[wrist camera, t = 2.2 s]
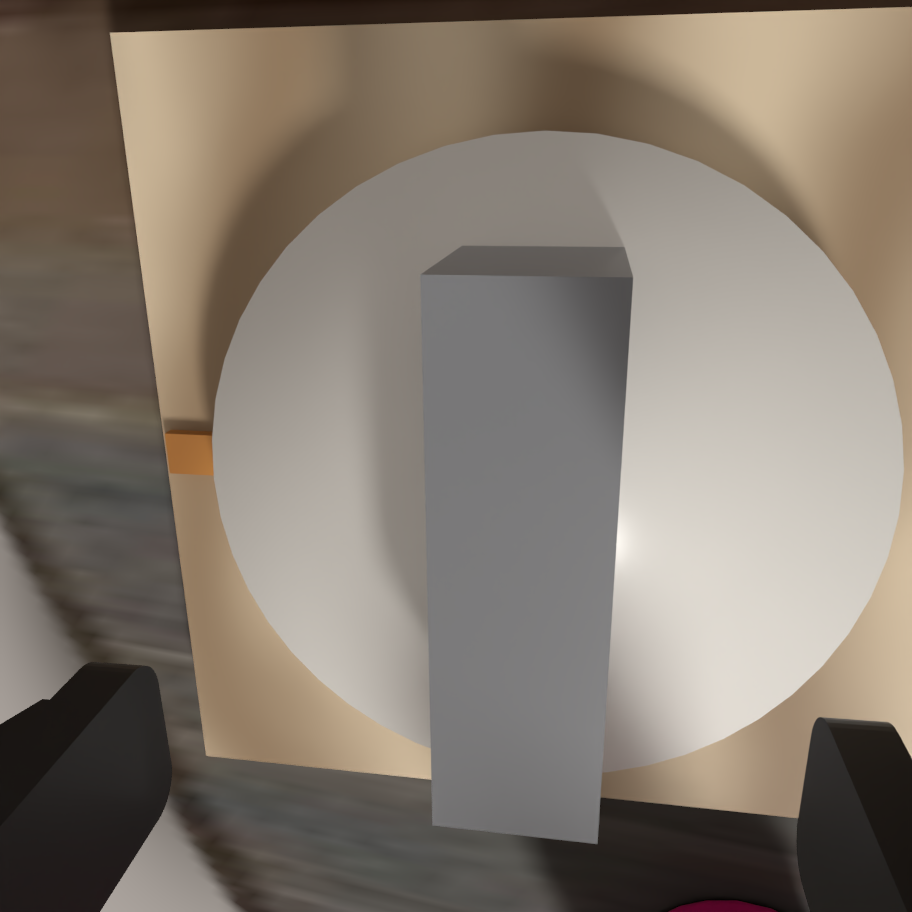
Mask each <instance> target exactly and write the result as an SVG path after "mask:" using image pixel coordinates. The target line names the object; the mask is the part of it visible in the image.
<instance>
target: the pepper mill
mask: <svg viewBox="0 0 912 912" xmlns="http://www.w3.org/2000/svg"><path fill="white" fill-rule="evenodd" d="M668 912H777V911H775V910H773V909H771V908H767V907H763V906H759V905H755V904H750V903H746V902H742V901H738V900H706V901H701V902H696V903H691V904H687V905H682V906H679V907H677V908H675V909H673V910H670V911H668Z"/></svg>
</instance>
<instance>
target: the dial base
mask: <svg viewBox="0 0 912 912" xmlns="http://www.w3.org/2000/svg"><path fill="white" fill-rule="evenodd" d="M110 37H111V45H112V52H113V60H114V67H115V75H116V82H117V90H118V97H119V105H120V112H121V120H122V127H123V135H124V142H125V150H126V157H127V165H128V172H129V180H130V188H131V195H132V203H133V210H134V218H135V225H136V233H137V240H138V248H139V255H140V263H141V270H142V278H143V285H144V293H145V300H146V308H147V315H148V323H149V330H150V338H151V345H152V353H153V360H154V368H155V375H156V383H157V390H158V398H159V405H160V413H161V420H162V428H163V435H164V443H165V450H166V458H167V465H168V473H169V480H170V488H171V495H172V503H173V510H174V518H175V525H176V533H177V540H178V548H179V555H180V563H181V570H182V578H183V585H184V593H185V600H186V608H187V615H188V623H189V630H190V638H191V645H192V653H193V660H194V668H195V675H196V683H197V690H198V698H199V705H200V713H201V720H202V728H203V735H204V743H205V750H206V756H213V757H223V758H232V759H242V760H251V761H261V762H270V763H280V764H289V765H299V766H308V767H318V768H327V769H337V770H346V771H355V772H365V773H374V774H384V775H393V776H403V777H412V778H422V779H431V748H428V747H425V746H423V745H420V744H418V743H415V742H413V741H411V740H409V739H407V738H405V737H403V736H401V735H399V734H397V733H395V732H393V731H391V730H389V729H388V728H386V727H384V726H382V725H380V724H378V723H377V722H375V721H374V720H372V719H371V718H369V717H368V716H366V715H365V714H363V713H361V712H360V711H358V710H357V709H355V708H354V707H352V706H351V705H349V704H348V703H347V702H345V701H344V700H343V699H342V698H340V697H339V696H338V695H337V694H336V693H334V692H333V691H332V690H331V689H329V688H328V687H327V686H326V685H325V684H323V683H322V682H321V681H320V680H318V678H317V677H316V676H315V675H314V674H313V673H312V672H311V671H310V670H309V669H308V668H307V667H306V666H305V665H304V664H303V663H302V662H301V661H300V660H299V659H298V658H297V657H296V656H295V655H294V654H293V653H292V652H291V651H290V649H289V648H288V647H287V645H286V644H285V643H284V642H283V640H282V639H281V638H280V637H279V635H278V634H277V633H276V631H275V630H274V629H273V628H272V626H271V625H270V624H269V622H268V621H267V619H266V618H265V616H264V614H263V613H262V611H261V609H260V608H259V606H258V604H257V603H256V601H255V599H254V598H253V596H252V595H251V593H250V591H249V590H248V587H247V585H246V583H245V581H244V579H243V576H242V574H241V572H240V570H239V568H238V566H237V563H236V561H235V559H234V557H233V555H232V551H231V548H230V545H229V542H228V539H227V536H226V532H225V529H224V526H223V523H222V520H221V516H220V510H219V505H218V499H217V493H216V488H215V482H214V471H213V450H212V433H213V422H214V410H215V399H216V395H217V390H218V386H219V381H220V377H221V372H222V368H223V364H224V359H225V357H226V354H227V351H228V349H229V346H230V343H231V341H232V338H233V335H234V333H235V330H236V327H237V325H238V322H239V320H240V318H241V316H242V314H243V312H244V311H245V309H246V307H247V305H248V303H249V301H250V300H251V298H252V296H253V294H254V292H255V290H256V289H257V287H258V285H259V283H260V282H261V280H262V279H263V278H264V276H265V275H266V274H267V272H268V271H269V270H270V268H271V267H272V266H273V264H274V263H275V262H276V260H277V259H278V258H279V256H280V255H281V254H282V252H283V251H284V250H285V248H286V247H287V246H288V245H289V244H290V243H291V242H292V241H293V240H294V239H295V238H296V237H297V236H298V235H299V234H300V233H301V232H302V231H303V230H304V229H305V228H306V227H307V226H308V225H309V224H310V223H311V222H312V221H313V220H314V219H315V218H316V217H317V216H318V215H319V214H320V213H322V212H323V211H324V210H326V209H327V208H328V207H330V206H331V205H332V204H334V203H335V202H336V201H338V200H339V199H340V198H342V197H343V196H344V195H346V194H347V193H348V192H350V191H351V190H352V189H354V188H355V187H356V186H358V185H360V184H362V183H364V182H365V181H367V180H369V179H371V178H373V177H374V176H376V175H378V174H380V173H382V172H384V171H385V170H387V169H389V168H391V167H393V166H394V165H396V164H398V163H401V162H403V161H406V160H409V159H411V158H414V157H416V156H419V155H422V154H424V153H427V152H430V151H432V150H435V149H438V148H440V147H443V146H446V145H451V144H455V143H459V142H464V141H468V140H473V139H477V138H482V137H486V136H491V135H497V134H509V133H521V132H533V131H562V132H579V133H597V134H602V135H607V136H612V137H617V138H622V139H627V140H632V141H637V142H642V143H647V144H651V145H653V146H656V147H659V148H662V149H665V150H668V151H670V152H673V153H676V154H679V155H682V156H685V157H687V158H690V159H693V160H696V161H699V162H701V163H702V164H704V165H706V166H708V167H710V168H712V169H714V170H716V171H718V172H720V173H722V174H724V175H725V176H727V177H729V178H731V179H733V180H735V181H737V182H739V183H741V184H743V185H745V186H746V187H747V188H749V189H750V190H752V191H753V192H754V193H756V194H757V195H758V196H760V197H761V198H763V199H764V200H765V201H767V202H768V203H770V204H771V205H772V206H774V207H775V208H776V209H778V210H779V211H781V212H782V213H783V214H785V215H786V216H787V217H788V218H789V219H790V220H791V221H792V222H793V223H794V224H796V225H797V226H798V227H799V228H800V229H801V230H802V231H803V232H804V233H805V234H806V235H807V236H808V237H809V238H810V239H811V240H812V241H813V242H814V243H815V244H816V245H817V246H818V247H819V248H820V249H821V250H822V251H823V252H824V253H825V254H826V256H827V257H828V258H829V260H830V261H831V262H832V264H833V265H834V266H835V268H836V269H837V270H838V272H839V273H840V274H841V276H842V277H843V278H844V280H845V281H846V282H847V283H848V285H849V286H850V287H851V289H852V290H853V291H854V293H855V295H856V297H857V299H858V301H859V302H860V304H861V306H862V308H863V310H864V312H865V313H866V315H867V317H868V319H869V321H870V323H871V324H872V326H873V328H874V330H875V332H876V334H877V336H878V339H879V342H880V344H881V347H882V350H883V353H884V355H885V358H886V361H887V364H888V366H889V369H890V372H891V375H892V378H893V381H894V386H895V391H896V396H897V402H898V407H899V412H900V417H901V422H902V434H903V459H904V475H903V484H902V493H901V502H900V511H899V517H898V521H897V525H896V529H895V532H894V536H893V540H892V544H891V548H890V551H889V555H888V558H887V561H886V563H885V565H884V568H883V570H882V572H881V575H880V577H879V579H878V582H877V584H876V586H875V589H874V591H873V593H872V596H871V598H870V600H869V601H868V603H867V604H866V606H865V608H864V609H863V611H862V613H861V614H860V616H859V618H858V619H857V621H856V623H855V624H854V626H853V628H852V629H851V631H850V633H849V634H848V635H847V636H846V638H845V639H844V640H843V641H842V643H841V644H840V645H839V646H838V648H837V649H836V650H835V651H834V653H833V654H832V655H831V656H830V657H829V659H828V660H827V661H826V662H825V664H824V665H823V666H822V667H821V668H820V669H819V670H818V671H817V672H816V673H815V674H814V675H813V676H812V677H810V678H809V679H808V680H807V681H806V682H805V683H804V684H803V685H802V686H801V687H800V688H799V689H798V690H797V691H796V692H795V693H794V694H793V695H791V696H790V697H789V698H787V699H786V700H784V701H783V702H782V703H780V704H779V705H778V706H776V707H775V708H773V709H772V710H771V711H769V712H768V713H767V714H765V715H764V716H763V717H761V718H760V719H758V720H757V721H755V722H753V723H751V724H749V725H748V726H746V727H744V728H742V729H740V730H739V731H737V732H735V733H733V734H731V735H730V736H728V737H726V738H724V739H722V740H720V741H717V742H715V743H713V744H710V745H708V746H705V747H703V748H700V749H698V750H696V751H693V752H691V753H688V754H686V755H683V756H679V757H675V758H672V759H668V760H665V761H661V762H658V763H654V764H651V765H647V766H642V767H636V768H630V769H624V770H618V771H612V772H603V773H602V781H601V797H602V798H611V799H621V800H630V801H640V802H649V803H659V804H668V805H678V806H687V807H697V808H706V809H716V810H725V811H735V812H744V813H754V814H763V815H772V816H782V817H791V818H798V816H799V810H800V803H801V797H802V791H803V784H804V778H805V771H806V765H807V758H808V752H809V745H810V739H811V733H812V728H813V725H814V723H815V721H816V719H817V718H819V717H826V718H839V719H853V720H867V721H880V722H889V723H891V724H892V725H893V726H894V727H895V729H896V730H897V732H898V734H899V735H900V737H901V739H902V741H903V743H904V745H905V747H906V748H907V750H908V752H909V754H910V756H911V758H912V7H894V8H863V9H832V10H801V11H770V12H739V13H708V14H677V15H646V16H615V17H584V18H553V19H522V20H491V21H460V22H429V23H398V24H367V25H336V26H305V27H274V28H243V29H212V30H181V31H150V32H119V33H110Z"/></svg>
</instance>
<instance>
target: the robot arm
mask: <svg viewBox="0 0 912 912" xmlns="http://www.w3.org/2000/svg"><path fill="white" fill-rule="evenodd" d="M171 777H172V765H171V758H170V752H169V745H168V739H167V733H166V727H165V721H164V714H163V708H162V702H161V696H160V690H159V684H158V679H157V676H156V674H155V672H154V670H153V669H152V668H151V667H148V666H140V665H127V664H113V663H99V662H91V663H87V664H86V665H84V666H83V667H82V668H81V669H79V670H78V672H77V673H76V674H75V675H74V676H73V677H72V678H71V679H70V680H69V681H68V682H67V683H66V684H65V685H64V686H63V687H62V688H61V689H60V690H59V691H58V692H57V693H56V694H55V695H54V696H53V697H52V698H51V699H50V700H45V699H42V700H40V701H39V702H37V703H35V704H34V705H32V706H30V707H29V708H27V709H25V710H24V711H22V712H20V713H19V714H17V715H15V716H14V717H12V718H10V719H9V720H7V721H5V722H4V723H2V724H0V912H100V911H101V909H102V908H103V906H104V904H105V903H106V901H107V900H108V898H109V896H110V895H111V893H112V892H113V890H114V889H115V887H116V886H117V884H118V882H119V881H120V879H121V878H122V876H123V874H124V873H125V871H126V870H127V868H128V867H129V865H130V864H131V862H132V860H133V859H134V857H135V856H136V854H137V853H138V851H139V849H140V848H141V846H142V845H143V843H144V841H145V840H146V838H147V837H148V835H149V834H150V832H151V830H152V829H153V827H154V826H155V824H156V823H157V821H158V820H159V818H160V816H161V814H162V812H163V810H164V807H165V805H166V802H167V799H168V795H169V791H170V786H171ZM797 856H798V865H799V871H800V877H801V881H802V885H803V889H804V892H805V895H806V899H807V902H808V906H809V909H810V912H912V758H911V756H910V754H909V752H908V750H907V748H906V747H905V745H904V743H903V741H902V739H901V737H900V735H899V734H898V732H897V730H896V729H895V727H894V726H893V725H892V724H891V723H889V722H880V721H867V720H853V719H839V718H826V717H819V718H817V719H816V721H815V723H814V725H813V728H812V733H811V739H810V745H809V752H808V758H807V765H806V771H805V778H804V784H803V791H802V797H801V803H800V810H799V816H798V824H797Z"/></svg>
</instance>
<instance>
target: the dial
mask: <svg viewBox="0 0 912 912" xmlns="http://www.w3.org/2000/svg"><path fill="white" fill-rule="evenodd" d="M212 450H213V471H214V482H215V488H216V493H217V499H218V505H219V510H220V516H221V520H222V523H223V526H224V529H225V532H226V536H227V539H228V542H229V545H230V548H231V551H232V555H233V557H234V559H235V561H236V563H237V566H238V568H239V570H240V572H241V574H242V576H243V579H244V581H245V583H246V585H247V587H248V590H249V591H250V593H251V595H252V596H253V598H254V599H255V601H256V603H257V604H258V606H259V608H260V609H261V611H262V613H263V614H264V616H265V618H266V619H267V621H268V622H269V624H270V625H271V626H272V628H273V629H274V630H275V631H276V633H277V634H278V635H279V637H280V638H281V639H282V640H283V642H284V643H285V644H286V645H287V647H288V648H289V649H290V651H291V652H292V653H293V654H294V655H295V656H296V657H297V658H298V659H299V660H300V661H301V662H302V663H303V664H304V665H305V666H306V667H307V668H308V669H309V670H310V671H311V672H312V673H313V674H314V675H315V676H316V677H317V678H318V680H320V681H321V682H322V683H323V684H325V685H326V686H327V687H328V688H329V689H331V690H332V691H333V692H334V693H336V694H337V695H338V696H339V697H340V698H342V699H343V700H344V701H345V702H347V703H348V704H349V705H351V706H352V707H354V708H355V709H357V710H358V711H360V712H361V713H363V714H365V715H366V716H368V717H369V718H371V719H372V720H374V721H375V722H377V723H378V724H380V725H382V726H384V727H386V728H388V729H389V730H391V731H393V732H395V733H397V734H399V735H401V736H403V737H405V738H407V739H409V740H411V741H413V742H415V743H418V744H420V745H423V746H425V747H428V748H431V781H432V825H434V826H443V827H452V828H460V829H469V830H478V831H487V832H496V833H504V834H513V835H522V836H531V837H539V838H548V839H557V840H566V841H575V842H583V843H592V844H598V829H599V813H600V797H601V781H602V773H603V772H612V771H618V770H624V769H630V768H636V767H642V766H647V765H651V764H654V763H658V762H661V761H665V760H668V759H672V758H675V757H679V756H683V755H686V754H688V753H691V752H693V751H696V750H698V749H700V748H703V747H705V746H708V745H710V744H713V743H715V742H717V741H720V740H722V739H724V738H726V737H728V736H730V735H731V734H733V733H735V732H737V731H739V730H740V729H742V728H744V727H746V726H748V725H749V724H751V723H753V722H755V721H757V720H758V719H760V718H761V717H763V716H764V715H765V714H767V713H768V712H769V711H771V710H772V709H773V708H775V707H776V706H778V705H779V704H780V703H782V702H783V701H784V700H786V699H787V698H789V697H790V696H791V695H793V694H794V693H795V692H796V691H797V690H798V689H799V688H800V687H801V686H802V685H803V684H804V683H805V682H806V681H807V680H808V679H809V678H810V677H812V676H813V675H814V674H815V673H816V672H817V671H818V670H819V669H820V668H821V667H822V666H823V665H824V664H825V662H826V661H827V660H828V659H829V657H830V656H831V655H832V654H833V653H834V651H835V650H836V649H837V648H838V646H839V645H840V644H841V643H842V641H843V640H844V639H845V638H846V636H847V635H848V634H849V633H850V631H851V629H852V628H853V626H854V624H855V623H856V621H857V619H858V618H859V616H860V614H861V613H862V611H863V609H864V608H865V606H866V604H867V603H868V601H869V600H870V598H871V596H872V593H873V591H874V589H875V586H876V584H877V582H878V579H879V577H880V575H881V572H882V570H883V568H884V565H885V563H886V561H887V558H888V555H889V551H890V548H891V544H892V540H893V536H894V532H895V529H896V525H897V521H898V517H899V511H900V502H901V493H902V484H903V475H904V459H903V434H902V422H901V417H900V412H899V407H898V402H897V396H896V391H895V386H894V381H893V378H892V375H891V372H890V369H889V366H888V364H887V361H886V358H885V355H884V353H883V350H882V347H881V344H880V342H879V339H878V336H877V334H876V332H875V330H874V328H873V326H872V324H871V323H870V321H869V319H868V317H867V315H866V313H865V312H864V310H863V308H862V306H861V304H860V302H859V301H858V299H857V297H856V295H855V293H854V291H853V290H852V289H851V287H850V286H849V285H848V283H847V282H846V281H845V280H844V278H843V277H842V276H841V274H840V273H839V272H838V270H837V269H836V268H835V266H834V265H833V264H832V262H831V261H830V260H829V258H828V257H827V256H826V254H825V253H824V252H823V251H822V250H821V249H820V248H819V247H818V246H817V245H816V244H815V243H814V242H813V241H812V240H811V239H810V238H809V237H808V236H807V235H806V234H805V233H804V232H803V231H802V230H801V229H800V228H799V227H798V226H797V225H796V224H794V223H793V222H792V221H791V220H790V219H789V218H788V217H787V216H786V215H785V214H783V213H782V212H781V211H779V210H778V209H776V208H775V207H774V206H772V205H771V204H770V203H768V202H767V201H765V200H764V199H763V198H761V197H760V196H758V195H757V194H756V193H754V192H753V191H752V190H750V189H749V188H747V187H746V186H745V185H743V184H741V183H739V182H737V181H735V180H733V179H731V178H729V177H727V176H725V175H724V174H722V173H720V172H718V171H716V170H714V169H712V168H710V167H708V166H706V165H704V164H702V163H701V162H699V161H696V160H693V159H690V158H687V157H685V156H682V155H679V154H676V153H673V152H670V151H668V150H665V149H662V148H659V147H656V146H653V145H651V144H647V143H642V142H637V141H632V140H627V139H622V138H617V137H612V136H607V135H602V134H597V133H579V132H562V131H533V132H521V133H509V134H497V135H491V136H486V137H482V138H477V139H473V140H468V141H464V142H459V143H455V144H451V145H446V146H443V147H440V148H438V149H435V150H432V151H430V152H427V153H424V154H422V155H419V156H416V157H414V158H411V159H409V160H406V161H403V162H401V163H398V164H396V165H394V166H393V167H391V168H389V169H387V170H385V171H384V172H382V173H380V174H378V175H376V176H374V177H373V178H371V179H369V180H367V181H365V182H364V183H362V184H360V185H358V186H356V187H355V188H354V189H352V190H351V191H350V192H348V193H347V194H346V195H344V196H343V197H342V198H340V199H339V200H338V201H336V202H335V203H334V204H332V205H331V206H330V207H328V208H327V209H326V210H324V211H323V212H322V213H320V214H319V215H318V216H317V217H316V218H315V219H314V220H313V221H312V222H311V223H310V224H309V225H308V226H307V227H306V228H305V229H304V230H303V231H302V232H301V233H300V234H299V235H298V236H297V237H296V238H295V239H294V240H293V241H292V242H291V243H290V244H289V245H288V246H287V247H286V248H285V250H284V251H283V252H282V254H281V255H280V256H279V258H278V259H277V260H276V262H275V263H274V264H273V266H272V267H271V268H270V270H269V271H268V272H267V274H266V275H265V276H264V278H263V279H262V280H261V282H260V283H259V285H258V287H257V289H256V290H255V292H254V294H253V296H252V298H251V300H250V301H249V303H248V305H247V307H246V309H245V311H244V312H243V314H242V316H241V318H240V320H239V322H238V325H237V327H236V330H235V333H234V335H233V338H232V341H231V343H230V346H229V349H228V351H227V354H226V357H225V359H224V364H223V368H222V372H221V377H220V381H219V386H218V390H217V395H216V399H215V410H214V422H213V433H212Z"/></svg>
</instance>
